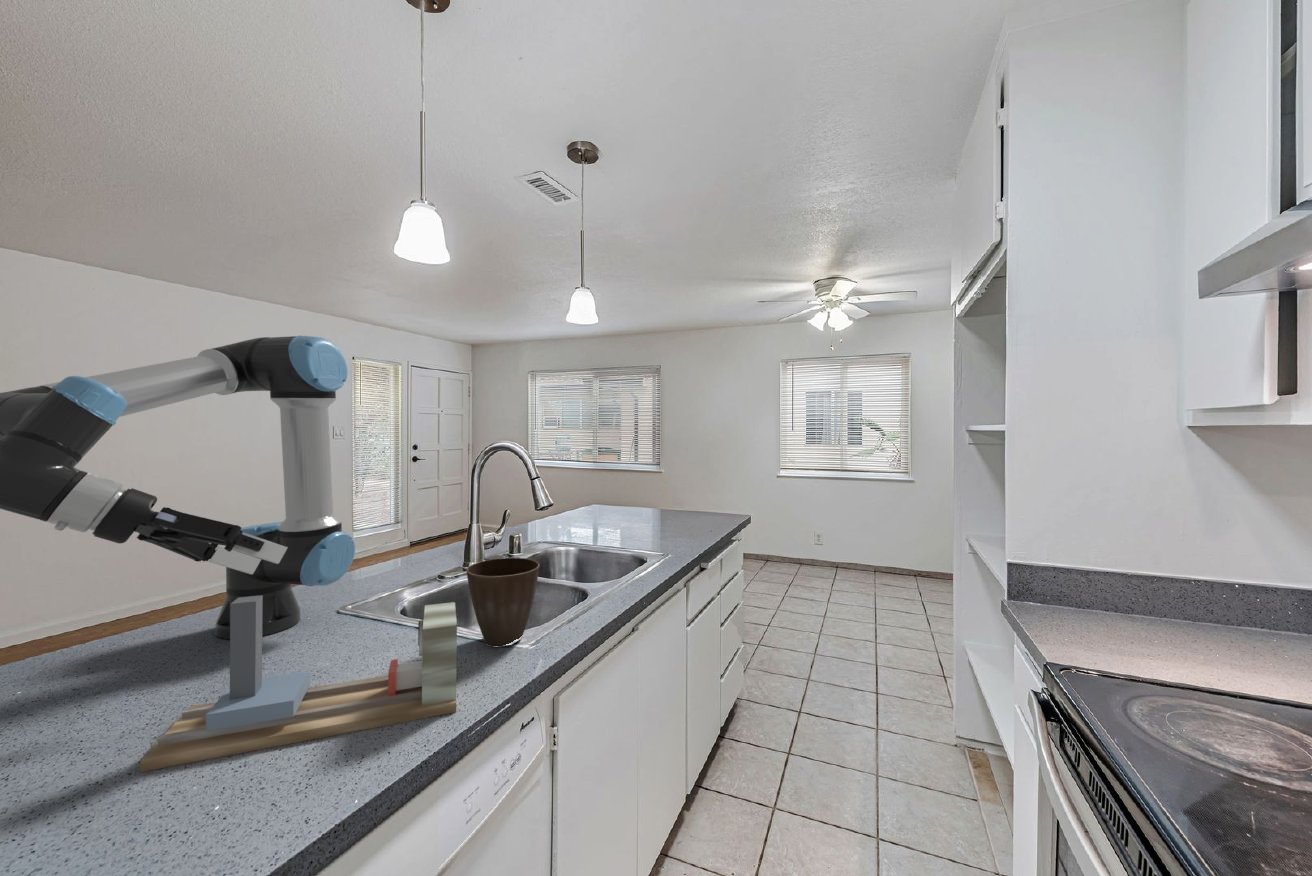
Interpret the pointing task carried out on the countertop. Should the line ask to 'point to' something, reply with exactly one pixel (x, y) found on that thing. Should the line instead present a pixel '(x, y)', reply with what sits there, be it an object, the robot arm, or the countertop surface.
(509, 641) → the plant pot
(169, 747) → the rail track
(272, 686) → the carriage
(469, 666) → the countertop surface
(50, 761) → the countertop surface
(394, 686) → the button
